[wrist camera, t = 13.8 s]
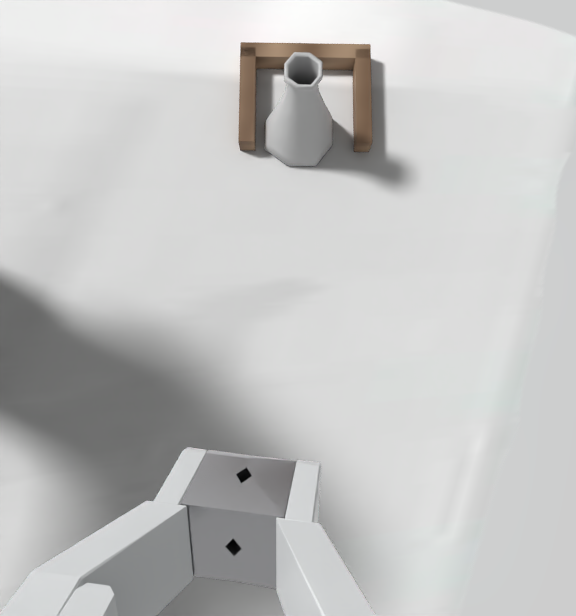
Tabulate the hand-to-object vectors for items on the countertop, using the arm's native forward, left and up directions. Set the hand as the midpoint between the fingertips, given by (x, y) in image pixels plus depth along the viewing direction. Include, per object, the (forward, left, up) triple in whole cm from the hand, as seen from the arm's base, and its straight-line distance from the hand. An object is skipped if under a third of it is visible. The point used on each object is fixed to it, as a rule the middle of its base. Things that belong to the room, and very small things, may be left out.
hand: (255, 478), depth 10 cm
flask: (+2, +26, -32) cm, 41 cm away
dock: (+3, +29, -32) cm, 43 cm away
